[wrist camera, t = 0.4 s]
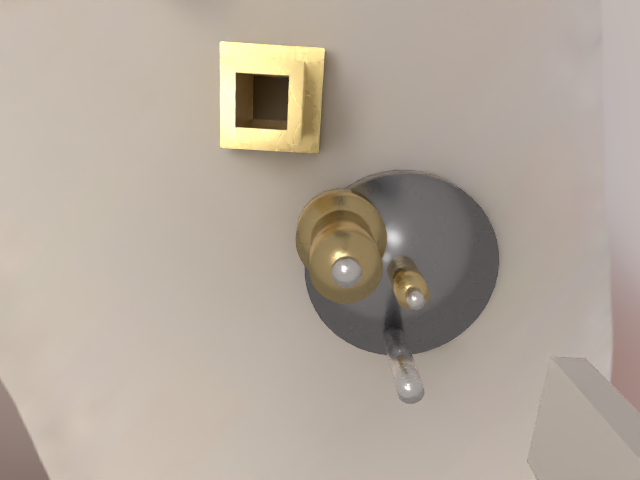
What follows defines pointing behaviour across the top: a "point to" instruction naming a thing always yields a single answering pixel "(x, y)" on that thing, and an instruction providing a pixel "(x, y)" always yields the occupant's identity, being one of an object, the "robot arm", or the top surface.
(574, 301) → the top surface
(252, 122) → the brass square sleeve
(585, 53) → the top surface
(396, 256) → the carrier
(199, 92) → the top surface
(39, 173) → the top surface
